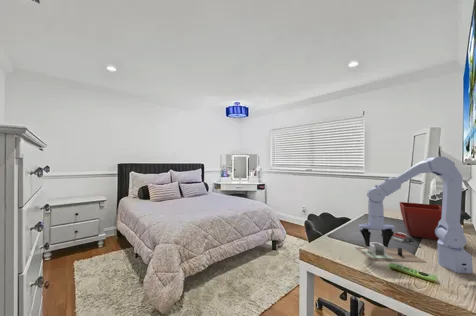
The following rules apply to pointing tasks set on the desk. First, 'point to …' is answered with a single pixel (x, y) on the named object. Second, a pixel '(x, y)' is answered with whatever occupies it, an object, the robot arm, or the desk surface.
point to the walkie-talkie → (402, 238)
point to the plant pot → (421, 219)
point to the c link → (376, 248)
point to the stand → (392, 255)
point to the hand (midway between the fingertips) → (376, 246)
